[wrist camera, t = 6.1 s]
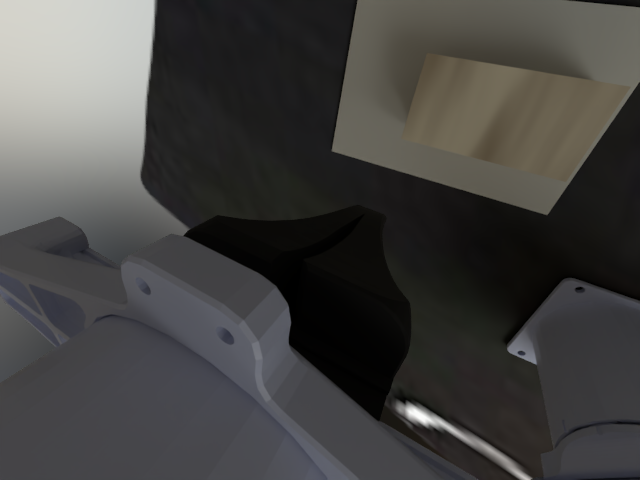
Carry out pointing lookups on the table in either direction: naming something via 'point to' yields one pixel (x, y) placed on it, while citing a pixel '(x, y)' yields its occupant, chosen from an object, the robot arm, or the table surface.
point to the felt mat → (483, 46)
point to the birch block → (509, 114)
